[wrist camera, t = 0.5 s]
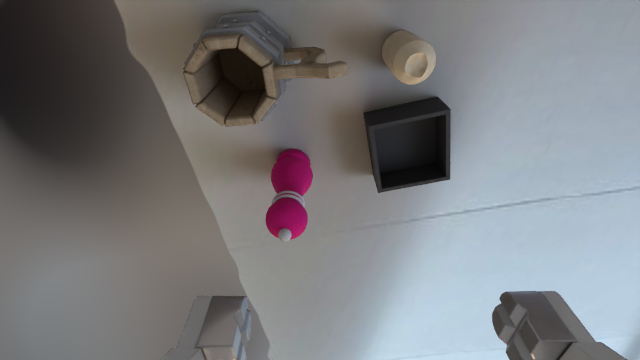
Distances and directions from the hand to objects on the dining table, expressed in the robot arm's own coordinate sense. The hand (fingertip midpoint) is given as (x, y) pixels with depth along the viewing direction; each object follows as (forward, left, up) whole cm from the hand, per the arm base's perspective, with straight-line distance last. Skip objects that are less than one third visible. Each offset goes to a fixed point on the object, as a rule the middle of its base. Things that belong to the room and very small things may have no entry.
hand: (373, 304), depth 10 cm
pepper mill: (+20, -7, -44) cm, 49 cm away
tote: (+16, +13, -44) cm, 49 cm away
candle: (+1, +11, -44) cm, 46 cm away
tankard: (+1, -8, -44) cm, 45 cm away
